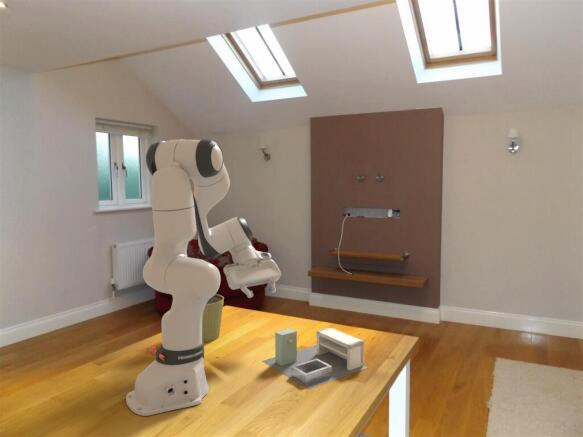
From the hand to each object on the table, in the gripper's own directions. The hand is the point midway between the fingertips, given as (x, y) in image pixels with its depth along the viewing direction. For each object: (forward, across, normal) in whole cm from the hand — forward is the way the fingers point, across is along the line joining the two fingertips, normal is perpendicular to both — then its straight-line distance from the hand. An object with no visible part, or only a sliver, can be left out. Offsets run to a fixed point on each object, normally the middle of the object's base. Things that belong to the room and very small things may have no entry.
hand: (262, 294), depth 158 cm
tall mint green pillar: (+23, 0, +4) cm, 24 cm away
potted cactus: (-3, -10, +32) cm, 34 cm away
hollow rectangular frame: (+32, 0, -6) cm, 33 cm away
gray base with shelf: (+29, +6, 0) cm, 30 cm away
